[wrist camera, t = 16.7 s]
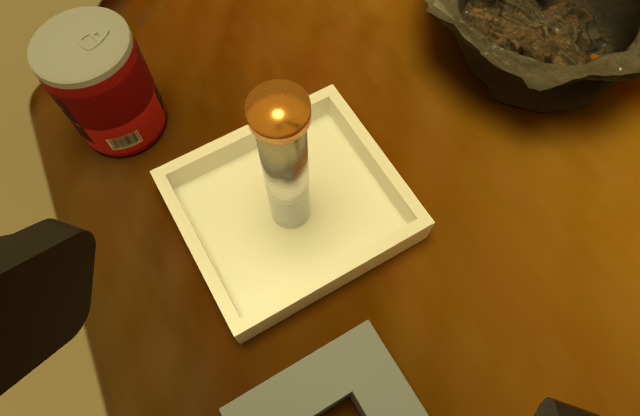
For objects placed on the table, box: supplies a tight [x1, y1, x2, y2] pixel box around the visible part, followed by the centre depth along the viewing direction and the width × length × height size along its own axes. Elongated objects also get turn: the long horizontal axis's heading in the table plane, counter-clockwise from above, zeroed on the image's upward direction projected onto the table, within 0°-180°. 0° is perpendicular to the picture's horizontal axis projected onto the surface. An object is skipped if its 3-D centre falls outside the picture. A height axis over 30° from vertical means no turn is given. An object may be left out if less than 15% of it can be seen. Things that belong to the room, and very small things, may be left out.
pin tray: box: [150, 84, 435, 345], centre depth 44 cm, size 18×16×3 cm
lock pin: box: [245, 79, 311, 229], centre depth 38 cm, size 4×4×15 cm
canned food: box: [27, 6, 166, 157], centre depth 45 cm, size 8×8×11 cm
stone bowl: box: [425, 0, 640, 113], centre depth 50 cm, size 25×25×9 cm
